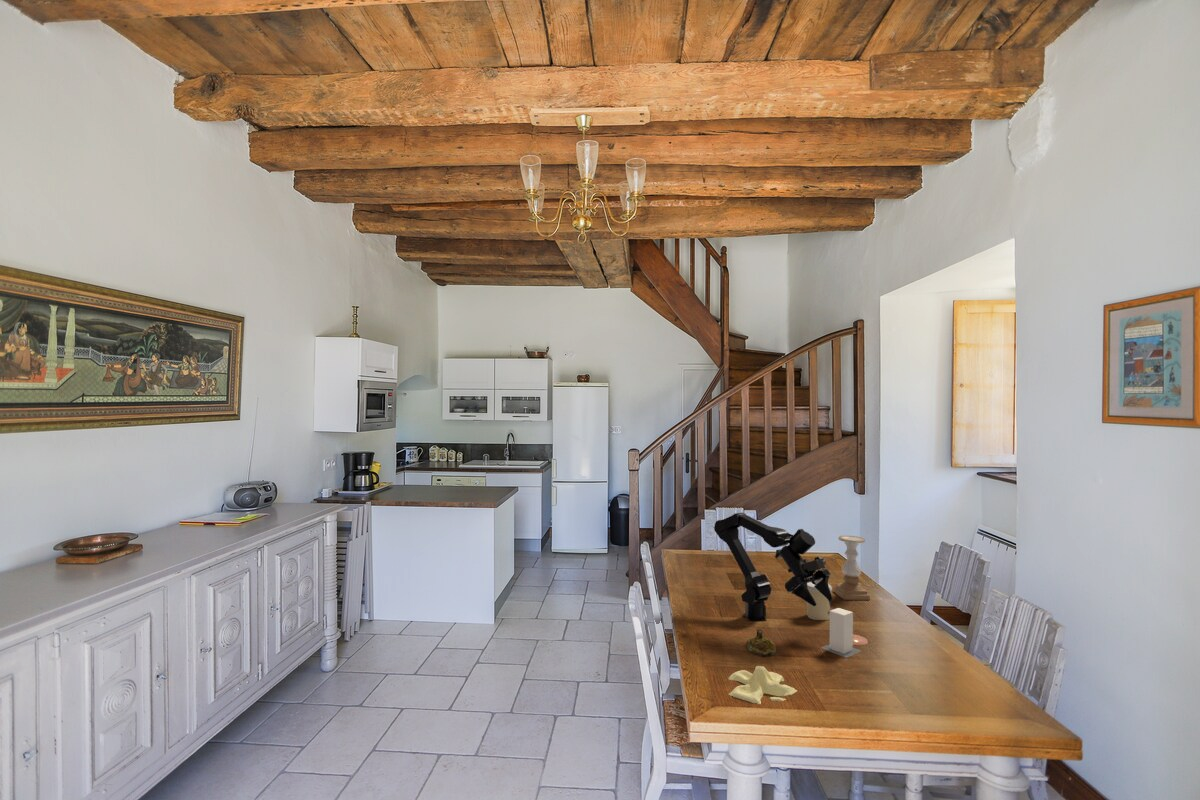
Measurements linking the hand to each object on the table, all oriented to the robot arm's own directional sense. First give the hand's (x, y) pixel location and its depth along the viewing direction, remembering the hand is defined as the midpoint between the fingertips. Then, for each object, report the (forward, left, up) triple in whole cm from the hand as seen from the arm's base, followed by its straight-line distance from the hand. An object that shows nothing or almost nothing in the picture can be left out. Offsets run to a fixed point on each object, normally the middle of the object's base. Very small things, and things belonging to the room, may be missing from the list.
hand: (823, 603), depth 189 cm
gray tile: (+3, -5, -13) cm, 15 cm away
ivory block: (+3, -5, -13) cm, 14 cm away
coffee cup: (+10, +24, -13) cm, 29 cm away
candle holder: (+36, +47, -13) cm, 60 cm away
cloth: (-31, -27, -14) cm, 44 cm away
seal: (-22, -1, -14) cm, 26 cm away
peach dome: (+11, +2, -13) cm, 17 cm away
